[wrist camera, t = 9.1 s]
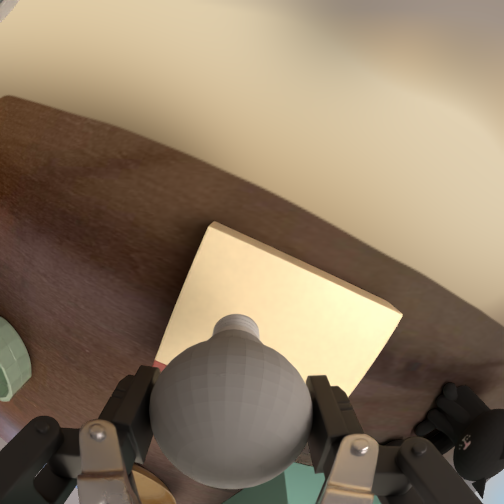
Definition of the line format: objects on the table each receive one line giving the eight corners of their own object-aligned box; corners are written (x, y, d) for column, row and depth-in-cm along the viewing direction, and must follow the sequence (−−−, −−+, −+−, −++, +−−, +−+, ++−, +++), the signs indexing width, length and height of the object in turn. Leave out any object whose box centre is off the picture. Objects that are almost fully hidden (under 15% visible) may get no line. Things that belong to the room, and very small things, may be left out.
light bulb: (234, 259, 15) (217, 371, 6) (309, 329, 16) (364, 464, 7) (164, 328, 16) (98, 457, 6) (237, 387, 17) (233, 523, 7)
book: (161, 347, 23) (151, 367, 20) (213, 220, 21) (208, 225, 18) (319, 404, 25) (326, 424, 22) (387, 301, 23) (403, 315, 20)
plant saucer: (72, 464, 28) (67, 475, 26) (98, 431, 26) (90, 445, 24) (152, 507, 30) (149, 519, 28) (198, 484, 28) (196, 499, 26)
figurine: (430, 368, 25) (506, 457, 10) (490, 375, 26) (551, 434, 11) (360, 463, 28) (392, 551, 13) (429, 457, 29) (465, 522, 14)
